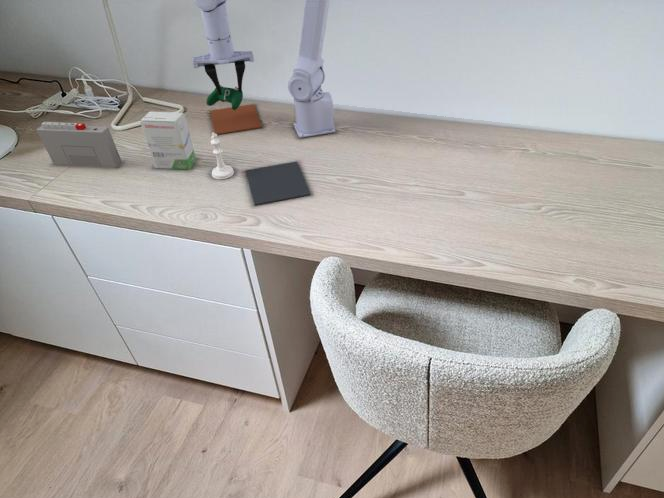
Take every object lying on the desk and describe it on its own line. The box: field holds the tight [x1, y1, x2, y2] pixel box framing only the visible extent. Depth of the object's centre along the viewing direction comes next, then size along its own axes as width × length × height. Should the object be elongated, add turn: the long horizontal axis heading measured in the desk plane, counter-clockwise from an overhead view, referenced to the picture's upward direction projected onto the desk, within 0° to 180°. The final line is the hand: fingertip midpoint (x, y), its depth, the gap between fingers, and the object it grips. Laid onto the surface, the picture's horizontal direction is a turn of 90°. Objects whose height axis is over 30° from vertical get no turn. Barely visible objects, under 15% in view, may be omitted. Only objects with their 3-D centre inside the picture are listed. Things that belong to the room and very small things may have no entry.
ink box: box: [139, 110, 197, 170], centre depth 112 cm, size 9×5×12 cm, turn 84°
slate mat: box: [244, 161, 312, 207], centre depth 109 cm, size 12×14×1 cm
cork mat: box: [209, 103, 263, 136], centre depth 131 cm, size 12×14×1 cm
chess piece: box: [210, 132, 235, 180], centre depth 109 cm, size 5×5×10 cm
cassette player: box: [36, 121, 123, 169], centre depth 113 cm, size 16×3×10 cm, turn 83°
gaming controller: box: [205, 84, 244, 110], centre depth 127 cm, size 9×4×6 cm
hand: (230, 92), depth 126 cm, fingers closed on gaming controller, 4 cm apart
